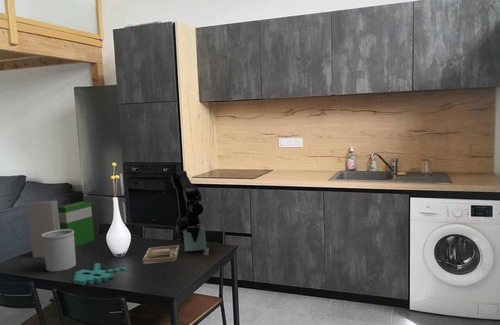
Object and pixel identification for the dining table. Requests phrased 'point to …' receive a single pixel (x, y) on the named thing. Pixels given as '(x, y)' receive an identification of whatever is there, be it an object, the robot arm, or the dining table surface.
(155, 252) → the pine offcut
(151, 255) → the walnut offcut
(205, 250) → the grey mat
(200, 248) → the teal square block
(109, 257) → the dining table surface
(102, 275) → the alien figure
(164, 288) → the dining table surface
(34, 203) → the grey upright box
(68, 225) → the hardback book
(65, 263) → the utensil holder
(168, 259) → the rack
